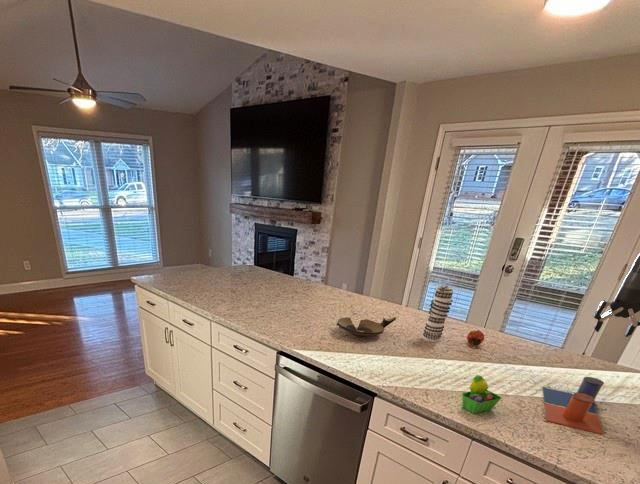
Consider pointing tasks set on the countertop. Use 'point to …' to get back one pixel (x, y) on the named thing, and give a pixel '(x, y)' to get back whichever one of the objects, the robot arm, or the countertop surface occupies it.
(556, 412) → the terracotta mat
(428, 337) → the striped cylindrical tower
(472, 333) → the pomegranate
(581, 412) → the terracotta canister
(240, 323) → the countertop surface
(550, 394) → the blue mat
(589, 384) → the blue canister
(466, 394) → the fruit basket
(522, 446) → the countertop surface
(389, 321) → the oil lamp
